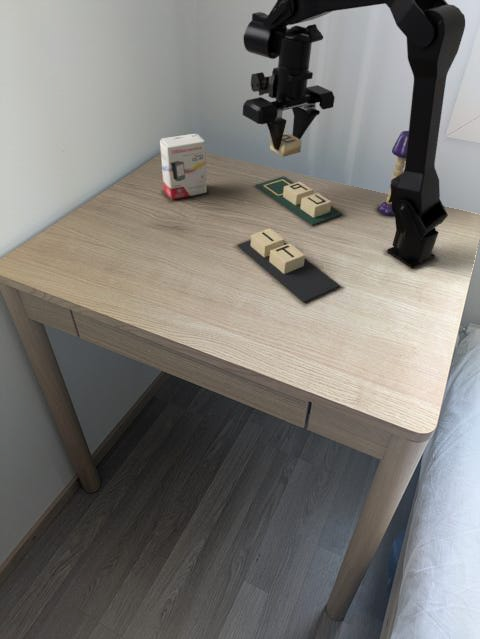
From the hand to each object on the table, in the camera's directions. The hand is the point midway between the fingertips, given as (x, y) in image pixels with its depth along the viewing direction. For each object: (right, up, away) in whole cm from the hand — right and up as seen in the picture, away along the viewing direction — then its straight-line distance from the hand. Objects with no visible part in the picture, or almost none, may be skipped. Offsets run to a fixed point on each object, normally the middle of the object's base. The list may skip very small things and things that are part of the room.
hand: (285, 146), depth 101 cm
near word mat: (-1, -26, -11) cm, 28 cm away
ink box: (-22, -7, +8) cm, 24 cm away
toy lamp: (+23, -12, +4) cm, 26 cm away
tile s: (0, -1, +1) cm, 1 cm away
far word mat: (+3, -9, +7) cm, 12 cm away
